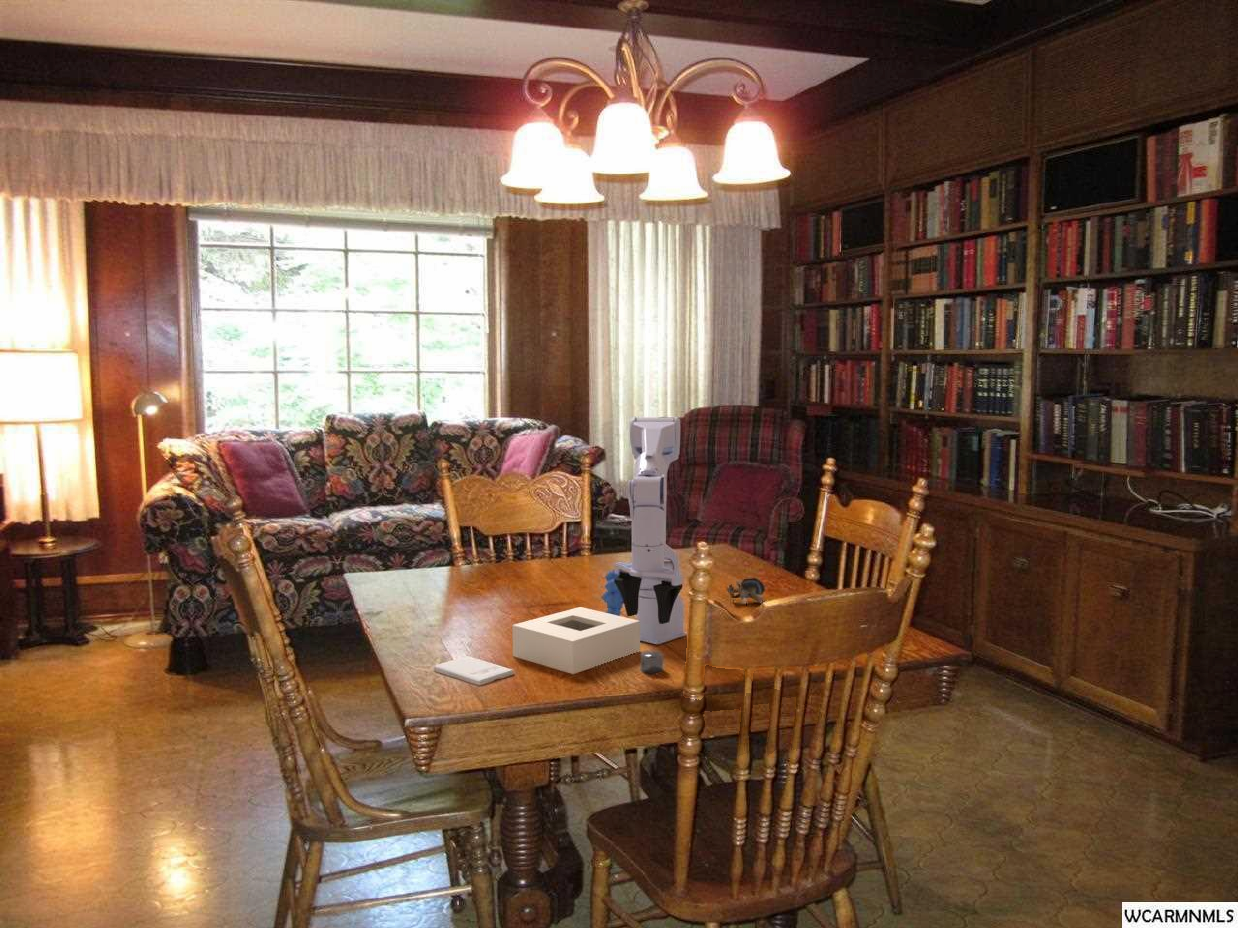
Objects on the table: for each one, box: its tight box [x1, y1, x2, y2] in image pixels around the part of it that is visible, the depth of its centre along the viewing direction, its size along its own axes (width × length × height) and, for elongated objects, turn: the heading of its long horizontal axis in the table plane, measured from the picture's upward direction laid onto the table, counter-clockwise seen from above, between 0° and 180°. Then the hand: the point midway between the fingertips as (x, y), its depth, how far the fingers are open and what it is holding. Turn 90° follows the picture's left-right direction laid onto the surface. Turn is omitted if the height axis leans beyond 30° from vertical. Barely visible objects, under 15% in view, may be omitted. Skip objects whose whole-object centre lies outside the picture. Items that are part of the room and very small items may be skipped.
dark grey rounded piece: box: [640, 650, 664, 675], centre depth 177 cm, size 4×4×3 cm
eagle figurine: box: [725, 577, 766, 605], centre depth 224 cm, size 8×7×9 cm
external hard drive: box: [433, 655, 515, 686], centre depth 177 cm, size 2×8×12 cm
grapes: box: [601, 569, 624, 616], centre depth 207 cm, size 12×7×12 cm, turn 0°
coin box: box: [511, 606, 641, 675], centre depth 187 cm, size 18×16×6 cm
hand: (648, 618), depth 177 cm, fingers open, 7 cm apart
